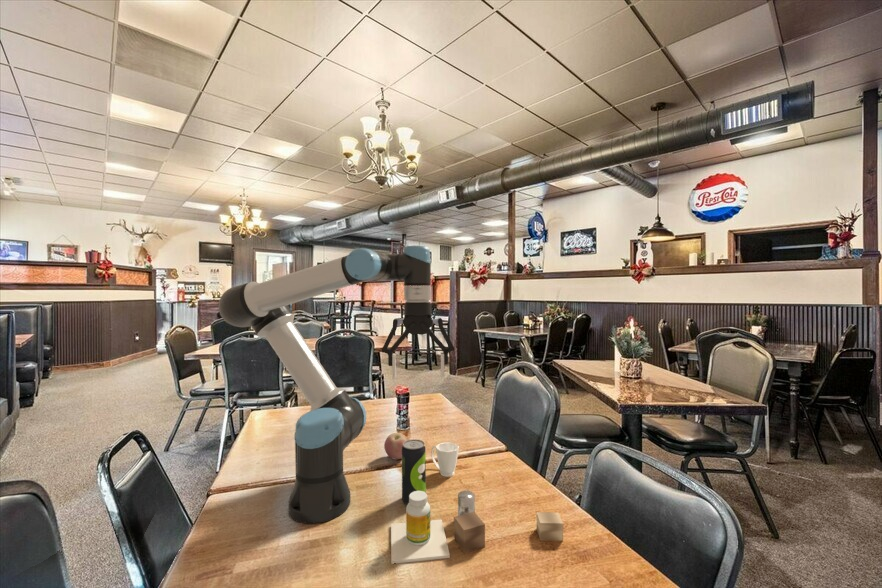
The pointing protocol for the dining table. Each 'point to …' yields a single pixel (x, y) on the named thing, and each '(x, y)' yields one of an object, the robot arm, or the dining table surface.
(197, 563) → the dining table surface
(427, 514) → the supplement bottle
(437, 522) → the coaster
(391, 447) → the apple
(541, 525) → the oak block
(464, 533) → the walnut block
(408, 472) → the beverage can
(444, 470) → the cup
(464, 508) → the cylinder
